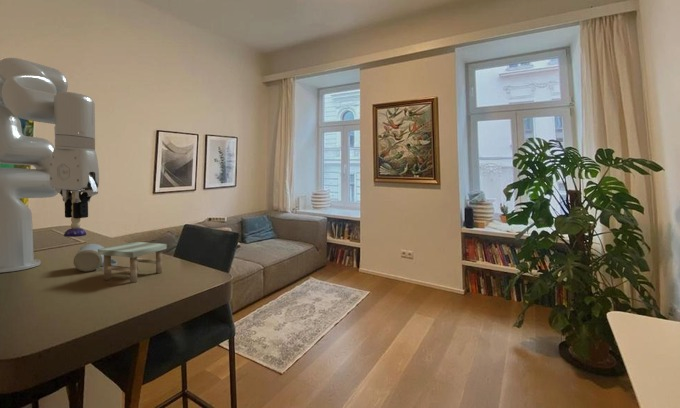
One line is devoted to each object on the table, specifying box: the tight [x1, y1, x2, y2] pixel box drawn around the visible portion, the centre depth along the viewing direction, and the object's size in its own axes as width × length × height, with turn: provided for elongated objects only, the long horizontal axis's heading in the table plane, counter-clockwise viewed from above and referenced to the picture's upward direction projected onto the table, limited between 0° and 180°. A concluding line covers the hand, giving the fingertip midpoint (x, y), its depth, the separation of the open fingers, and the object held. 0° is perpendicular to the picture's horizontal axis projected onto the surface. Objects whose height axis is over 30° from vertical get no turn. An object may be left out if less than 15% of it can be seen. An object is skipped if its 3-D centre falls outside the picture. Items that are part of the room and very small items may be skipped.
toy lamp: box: [63, 190, 87, 238], centre depth 75 cm, size 5×5×17 cm
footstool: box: [98, 241, 168, 284], centre depth 89 cm, size 12×12×9 cm
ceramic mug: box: [73, 243, 118, 272], centre depth 95 cm, size 11×8×8 cm
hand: (76, 216), depth 75 cm, fingers closed on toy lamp
